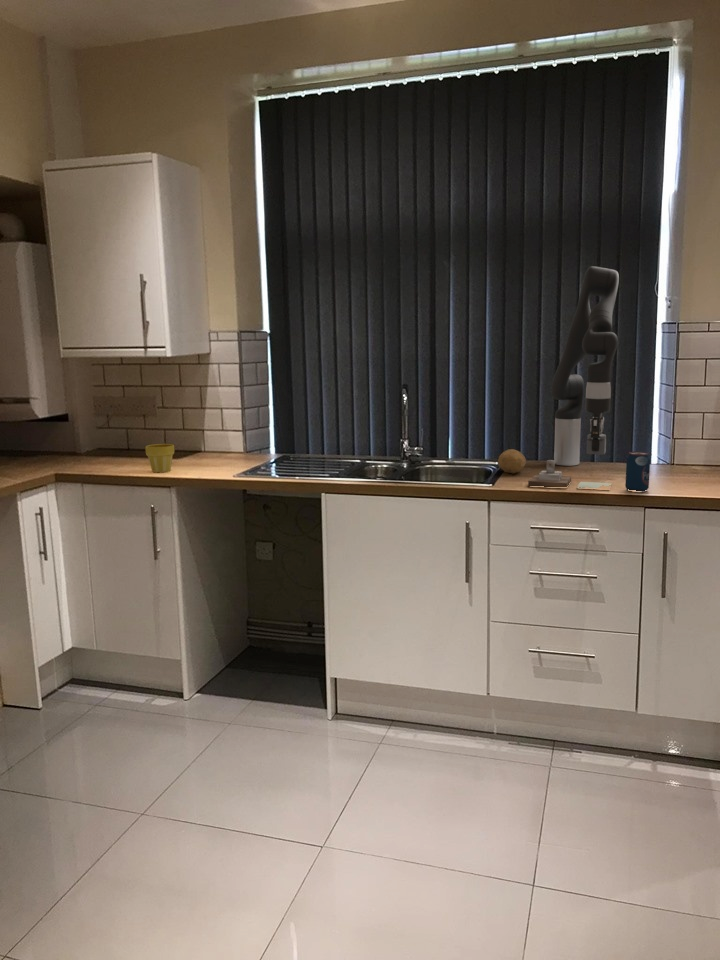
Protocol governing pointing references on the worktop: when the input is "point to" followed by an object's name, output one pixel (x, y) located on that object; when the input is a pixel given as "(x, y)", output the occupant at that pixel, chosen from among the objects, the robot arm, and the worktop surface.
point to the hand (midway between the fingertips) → (596, 449)
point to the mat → (592, 484)
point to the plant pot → (160, 456)
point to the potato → (511, 461)
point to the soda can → (637, 471)
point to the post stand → (550, 477)
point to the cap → (601, 445)
